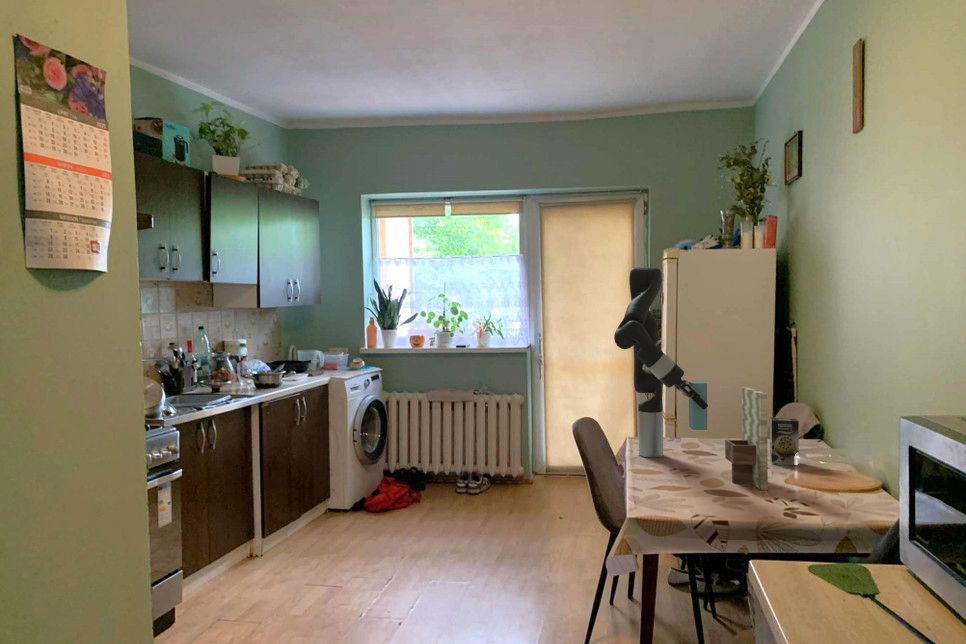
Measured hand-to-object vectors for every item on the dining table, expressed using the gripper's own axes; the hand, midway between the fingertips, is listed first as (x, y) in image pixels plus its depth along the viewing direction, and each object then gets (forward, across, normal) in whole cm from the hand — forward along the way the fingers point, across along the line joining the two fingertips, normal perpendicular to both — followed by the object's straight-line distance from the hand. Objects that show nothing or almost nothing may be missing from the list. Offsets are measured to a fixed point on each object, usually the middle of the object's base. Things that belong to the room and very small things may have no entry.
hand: (703, 406), depth 218 cm
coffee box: (+43, +26, -7) cm, 50 cm away
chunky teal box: (+4, 0, +6) cm, 7 cm away
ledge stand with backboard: (+26, 0, +9) cm, 28 cm away
